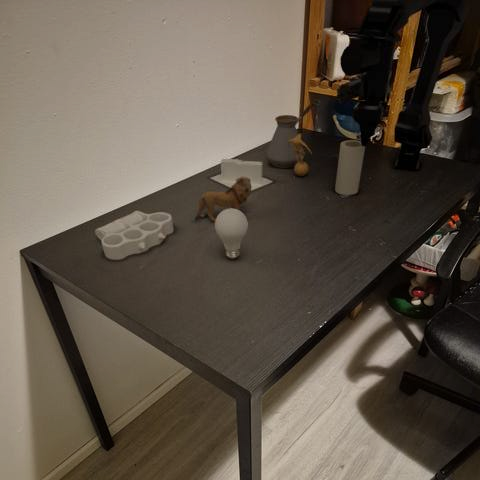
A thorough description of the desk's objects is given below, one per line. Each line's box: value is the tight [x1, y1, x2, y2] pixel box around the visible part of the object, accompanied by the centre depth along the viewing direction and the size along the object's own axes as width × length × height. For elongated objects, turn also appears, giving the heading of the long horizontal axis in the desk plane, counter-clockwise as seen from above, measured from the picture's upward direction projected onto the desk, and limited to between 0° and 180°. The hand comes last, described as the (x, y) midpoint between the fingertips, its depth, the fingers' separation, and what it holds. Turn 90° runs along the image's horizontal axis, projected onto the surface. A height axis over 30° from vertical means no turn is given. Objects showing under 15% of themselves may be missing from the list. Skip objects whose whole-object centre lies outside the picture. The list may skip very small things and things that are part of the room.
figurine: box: [287, 133, 313, 177], centre depth 116 cm, size 8×6×12 cm
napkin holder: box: [210, 158, 274, 192], centre depth 118 cm, size 15×11×6 cm
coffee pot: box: [265, 98, 321, 169], centre depth 126 cm, size 21×12×15 cm, turn 139°
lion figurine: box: [194, 176, 252, 222], centre depth 101 cm, size 15×5×9 cm, turn 110°
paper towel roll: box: [334, 139, 366, 196], centre depth 108 cm, size 6×12×6 cm
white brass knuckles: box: [94, 210, 175, 261], centre depth 95 cm, size 3×18×15 cm
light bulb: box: [214, 207, 249, 260], centre depth 86 cm, size 7×7×11 cm
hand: (366, 139), depth 105 cm, fingers open, 9 cm apart
